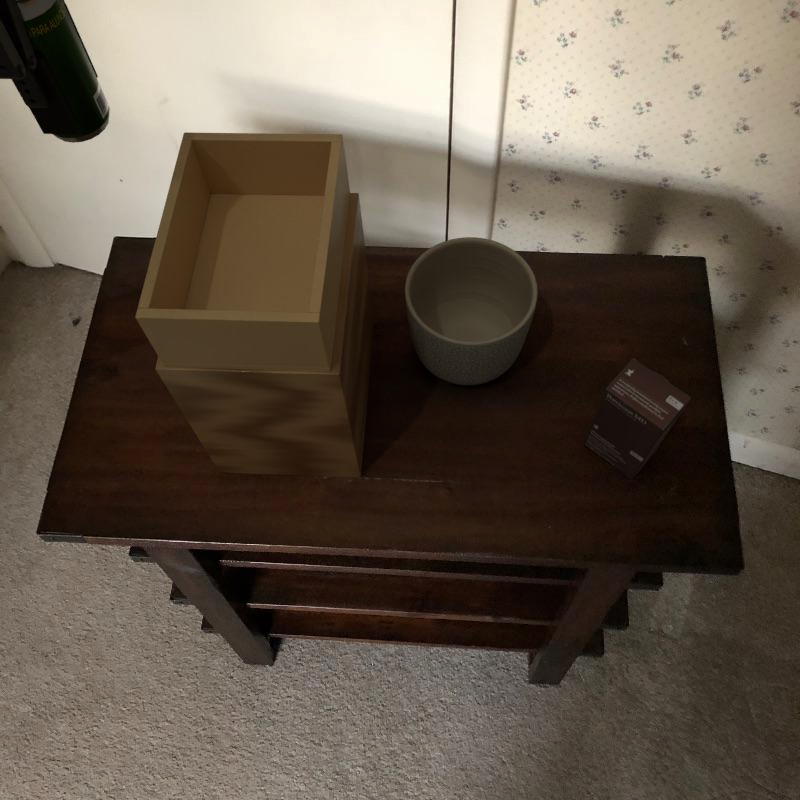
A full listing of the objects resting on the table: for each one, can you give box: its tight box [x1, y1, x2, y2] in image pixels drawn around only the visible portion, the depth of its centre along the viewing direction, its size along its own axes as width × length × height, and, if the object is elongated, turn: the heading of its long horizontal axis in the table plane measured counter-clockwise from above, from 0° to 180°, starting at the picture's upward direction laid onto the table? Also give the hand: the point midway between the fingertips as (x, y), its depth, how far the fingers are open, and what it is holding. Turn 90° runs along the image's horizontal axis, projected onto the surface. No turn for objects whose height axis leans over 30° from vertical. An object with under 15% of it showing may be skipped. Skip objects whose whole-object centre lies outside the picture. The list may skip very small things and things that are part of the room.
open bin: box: [135, 132, 351, 372], centre depth 59 cm, size 13×18×7 cm
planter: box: [404, 236, 539, 386], centre depth 76 cm, size 12×12×11 cm
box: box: [582, 357, 692, 481], centre depth 70 cm, size 6×4×12 cm
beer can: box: [16, 0, 111, 144], centre depth 59 cm, size 5×5×12 cm
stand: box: [154, 192, 375, 479], centre depth 70 cm, size 14×18×20 cm
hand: (71, 103), depth 62 cm, fingers closed on beer can, 5 cm apart
